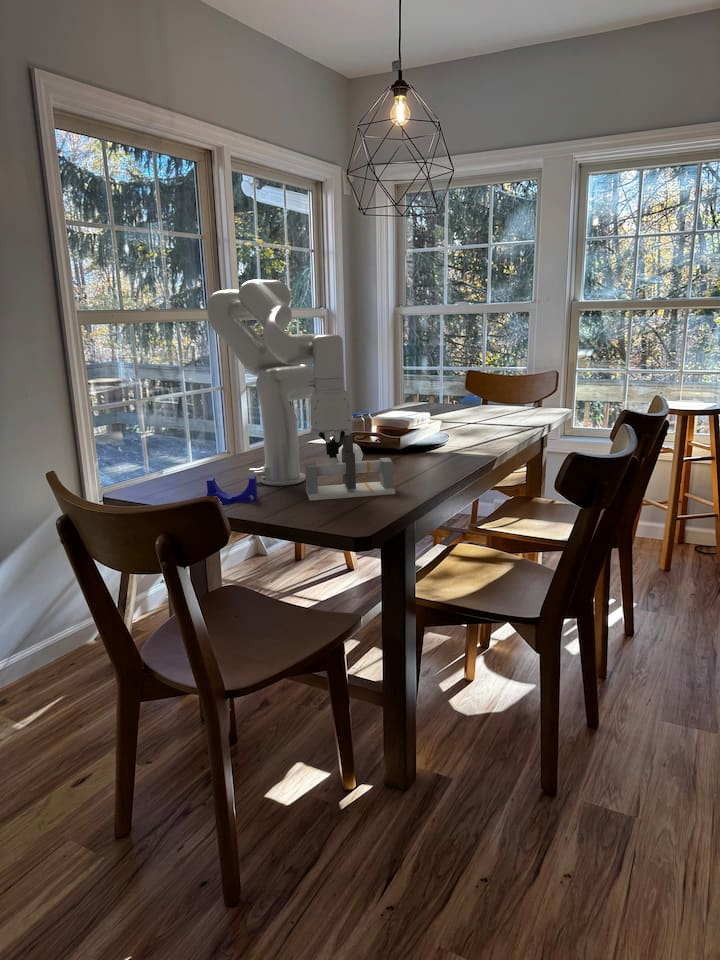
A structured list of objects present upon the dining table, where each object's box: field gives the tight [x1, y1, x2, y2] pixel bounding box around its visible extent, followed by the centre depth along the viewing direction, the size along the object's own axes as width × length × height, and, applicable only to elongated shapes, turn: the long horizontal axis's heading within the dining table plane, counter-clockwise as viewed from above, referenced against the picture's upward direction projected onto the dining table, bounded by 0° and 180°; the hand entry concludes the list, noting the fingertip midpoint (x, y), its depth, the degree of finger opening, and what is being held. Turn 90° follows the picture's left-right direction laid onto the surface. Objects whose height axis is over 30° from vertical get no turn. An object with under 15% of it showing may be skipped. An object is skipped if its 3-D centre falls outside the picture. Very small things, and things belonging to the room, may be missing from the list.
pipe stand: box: [304, 457, 396, 501], centre depth 174 cm, size 22×10×8 cm, turn 100°
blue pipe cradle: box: [206, 475, 259, 505], centre depth 169 cm, size 12×4×6 cm, turn 93°
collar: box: [342, 433, 357, 489], centre depth 173 cm, size 2×9×13 cm, turn 10°
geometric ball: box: [336, 442, 364, 463], centre depth 202 cm, size 8×8×8 cm
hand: (332, 457), depth 171 cm, fingers closed
